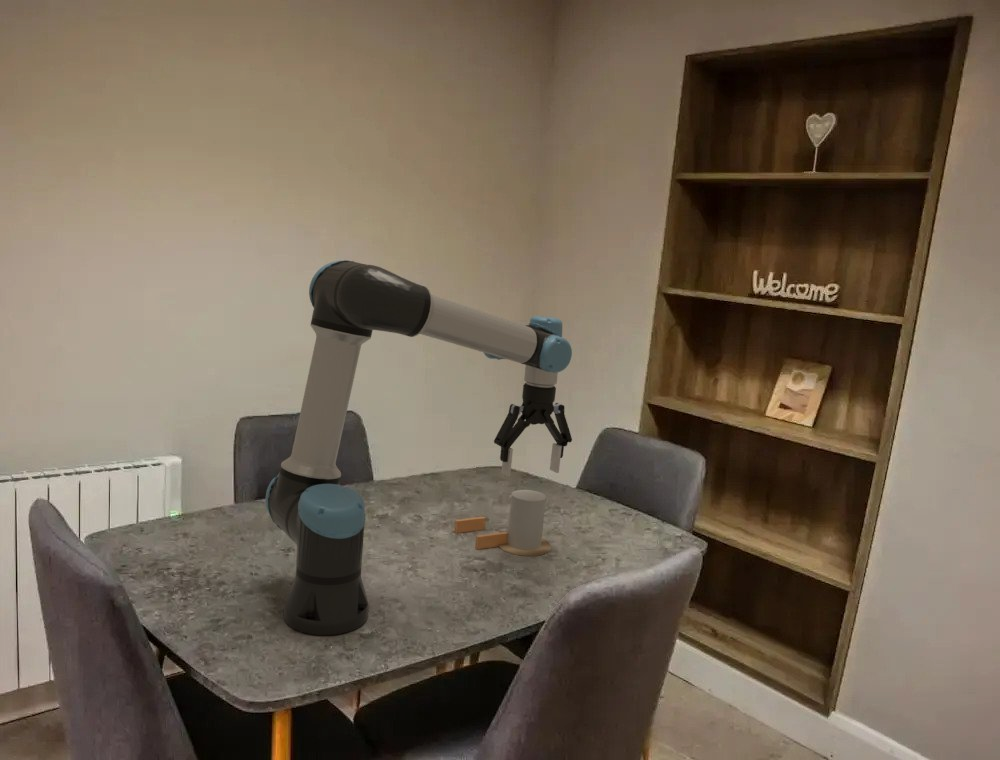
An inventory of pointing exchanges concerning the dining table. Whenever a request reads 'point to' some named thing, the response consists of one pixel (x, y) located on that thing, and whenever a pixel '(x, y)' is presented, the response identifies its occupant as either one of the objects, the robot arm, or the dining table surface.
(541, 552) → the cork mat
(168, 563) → the dining table surface
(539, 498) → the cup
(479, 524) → the bars
